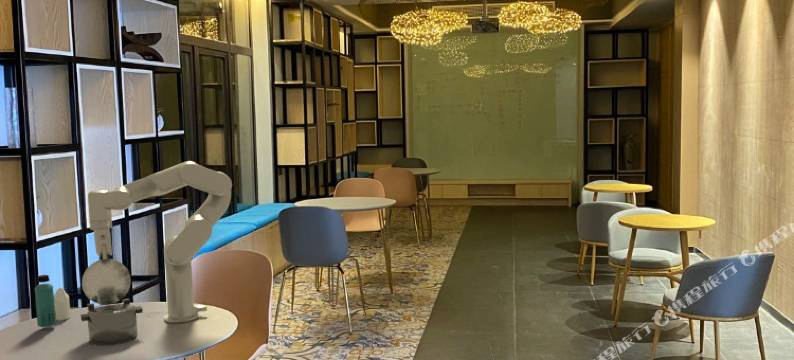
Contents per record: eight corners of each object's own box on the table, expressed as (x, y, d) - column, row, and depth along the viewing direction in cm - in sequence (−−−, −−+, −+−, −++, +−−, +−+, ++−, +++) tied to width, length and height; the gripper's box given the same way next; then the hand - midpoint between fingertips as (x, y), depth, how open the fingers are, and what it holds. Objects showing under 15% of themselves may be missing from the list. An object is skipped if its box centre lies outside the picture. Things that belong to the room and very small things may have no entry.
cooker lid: (132, 301, 283) (131, 300, 286) (128, 256, 284) (127, 256, 287) (84, 307, 275) (83, 307, 278) (80, 261, 276) (79, 261, 279)
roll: (56, 290, 295) (48, 288, 299) (58, 321, 296) (51, 319, 300) (71, 287, 300) (63, 285, 303) (73, 317, 301) (66, 315, 304)
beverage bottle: (49, 331, 283) (45, 277, 281) (33, 330, 284) (29, 277, 282) (60, 326, 289) (56, 273, 287) (44, 325, 291) (40, 273, 289)
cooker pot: (139, 327, 285) (137, 297, 284) (147, 339, 270) (145, 307, 269) (80, 336, 276) (78, 305, 275) (85, 349, 261) (83, 316, 260)
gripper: (114, 226, 278) (117, 276, 280) (109, 220, 291) (112, 268, 293) (91, 228, 274) (95, 279, 276) (88, 222, 288) (91, 271, 290)
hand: (104, 273), depth 285 cm, fingers closed
